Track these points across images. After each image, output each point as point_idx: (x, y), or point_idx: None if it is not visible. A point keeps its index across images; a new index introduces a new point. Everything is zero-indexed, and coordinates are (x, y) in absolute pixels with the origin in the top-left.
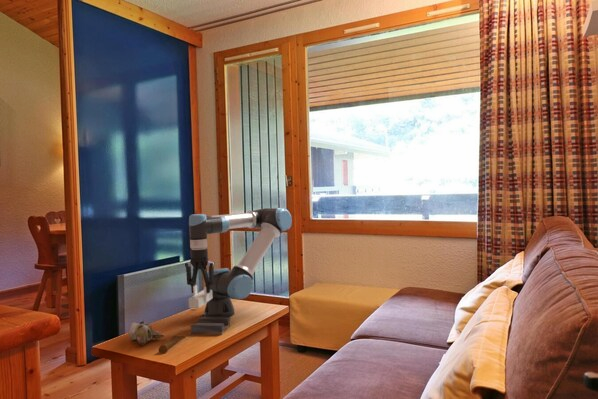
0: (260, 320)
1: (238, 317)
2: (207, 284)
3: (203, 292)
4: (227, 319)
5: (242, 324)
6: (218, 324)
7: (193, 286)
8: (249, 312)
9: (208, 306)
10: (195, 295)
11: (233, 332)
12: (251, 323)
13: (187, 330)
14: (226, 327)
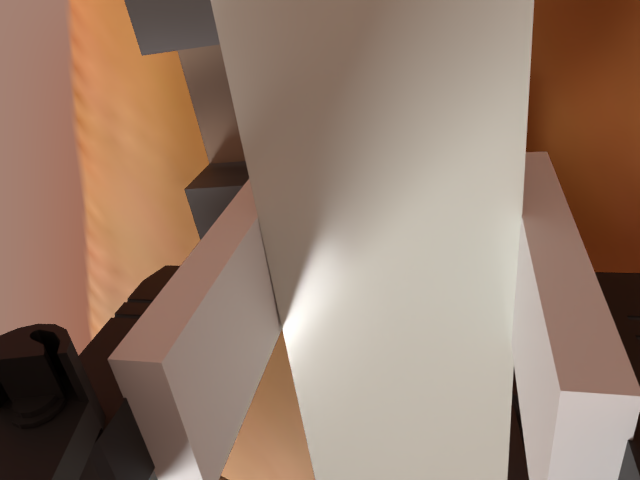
0: (95, 321)
1: (274, 374)
2: (7, 419)
3: (398, 397)
4: (189, 186)
5: (159, 242)
6: (170, 8)
7: (622, 396)
8: (255, 454)
9: (519, 453)
10: (480, 161)
11: (108, 52)
12: (112, 265)
13: (598, 28)
14: (197, 117)
